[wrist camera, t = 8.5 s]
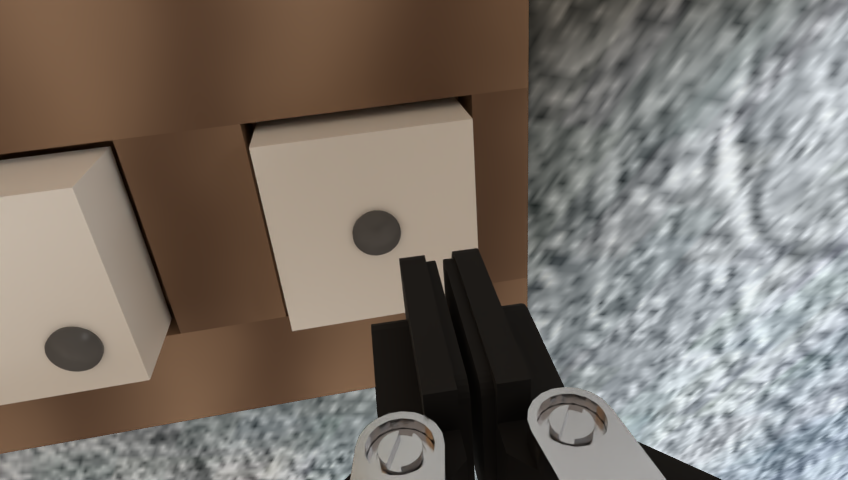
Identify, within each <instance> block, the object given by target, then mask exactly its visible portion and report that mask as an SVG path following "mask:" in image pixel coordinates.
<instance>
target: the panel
mask: <svg viewBox="0 0 848 480" xmlns="http://www.w3.org/2000/svg"><path fill="white" fill-rule="evenodd" d="M528 60H529V0H0V160H6V159H14V158H21V157H29V156H37V155H45V154H53V153H61V152H68V151H76V150H84V149H92V148H100V147H108V146H111V149H112V152H113V155H114V158H115V160H116V163H117V166H118V169H119V172H120V174H121V177H122V180H123V183H124V186H125V189H126V191H127V194H128V197H129V200H130V203H131V205H132V208H133V211H134V214H135V217H136V219H137V222H138V225H139V228H140V231H141V233H142V236H143V239H144V242H145V245H146V248H147V250H148V253H149V256H150V259H151V262H152V264H153V267H154V270H155V273H156V276H157V278H158V281H159V284H160V287H161V290H162V292H163V295H164V298H165V301H166V304H167V307H168V309H169V312H170V315H171V318H172V320H171V323H170V326H169V328H168V331H167V334H166V337H165V339H164V342H163V345H162V348H161V351H160V353H159V356H158V359H157V362H156V365H155V367H154V370H153V373H152V376H151V378H150V380H147V381H141V382H135V383H129V384H123V385H118V386H112V387H106V388H100V389H94V390H88V391H82V392H76V393H70V394H64V395H59V396H53V397H47V398H41V399H35V400H29V401H23V402H17V403H11V404H5V405H0V454H2V453H7V452H13V451H18V450H24V449H30V448H35V447H41V446H47V445H52V444H58V443H63V442H69V441H75V440H80V439H86V438H92V437H97V436H103V435H109V434H114V433H120V432H125V431H131V430H137V429H142V428H148V427H154V426H159V425H165V424H170V423H176V422H182V421H187V420H193V419H199V418H204V417H210V416H215V415H221V414H227V413H232V412H238V411H244V410H249V409H255V408H260V407H266V406H272V405H277V404H283V403H289V402H294V401H300V400H305V399H311V398H317V397H322V396H328V395H334V394H339V393H345V392H351V391H356V390H362V389H367V388H373V387H375V375H374V361H373V348H372V335H371V324H376V323H383V322H390V321H398V320H405V319H406V315H405V313H400V314H394V315H388V316H382V317H376V318H370V319H364V320H358V321H352V322H346V323H340V324H333V325H327V326H321V327H315V328H309V329H303V330H297V331H292V328H291V324H290V319H289V315H288V311H287V307H286V302H285V298H284V294H283V290H282V286H281V281H280V277H279V273H278V269H277V264H276V260H275V256H274V252H273V247H272V243H271V239H270V235H269V231H268V226H267V222H266V218H265V214H264V209H263V205H262V201H261V197H260V193H259V188H258V184H257V180H256V176H255V171H254V167H253V163H252V159H251V155H250V150H249V146H250V143H251V139H252V136H253V133H254V129H255V126H256V122H260V121H268V120H276V119H284V118H292V117H300V116H308V115H316V114H324V113H332V112H339V111H347V110H355V109H363V108H371V107H379V106H387V105H395V104H403V103H411V102H418V101H426V100H434V99H442V98H450V97H455V98H456V99H457V101H458V102H459V103H460V104H461V105H462V107H463V108H464V109H465V110H466V111H467V113H468V114H469V115H470V116H471V118H472V119H473V140H474V164H475V187H476V211H477V235H478V250H479V252H480V254H481V257H482V259H483V262H484V264H485V266H486V269H487V271H488V274H489V276H490V279H491V281H492V284H493V286H494V289H495V291H496V294H497V296H498V299H499V301H500V303H501V306H505V305H512V304H519V303H524V304H525V305H526V307H527V262H528Z"/></svg>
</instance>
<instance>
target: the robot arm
mask: <svg viewBox="0 0 848 480" xmlns="http://www.w3.org/2000/svg"><path fill="white" fill-rule="evenodd" d="M451 257H452V258H450V259H443V273H444V287H445V294H444V290H443V286H442V283H441V279H440V275H439V272H438V268H437V264H436V261H427V262H426V259H425V255H421V256H413V257H406V258H399V264H400V272H401V281H402V290H403V298H404V307H405V315H406V319H405V320H398V321H390V322H383V323H376V324H371V335H372V348H373V361H374V375H375V388H376V401H377V415H378V418H377V419H376V420H374V421H373V422H372V423H370V424H369V425H367V426H366V428H365V429H364V430H363V431H362V433H361V434H360V435H359V438H358V441H357V443H356V446H355V452H354V458H353V465H352V471H351V474H350V475H349V476H348V477H347V478H346V479H345V480H475V474H474V466H475V470H476V474H477V478H478V480H721V479H719V478H717V477H715V476H713V475H710V474H708V473H706V472H704V471H701V470H699V469H697V468H695V467H693V466H690V465H688V464H686V463H684V462H682V461H679V460H677V459H675V458H673V457H671V456H668V455H666V454H664V453H662V452H659V451H657V450H655V449H653V448H651V447H648V446H646V445H644V444H642V443H640V442H637V440H636V439H635V438H634V437H633V435H632V434H631V433H630V431H629V430H628V429H627V427H626V426H625V425H624V423H623V422H622V421H621V420H620V418H619V417H618V416H617V414H616V413H615V412H614V410H613V409H612V408H611V407H610V406H609V405H608V404H607V403H606V402H605V401H604V400H603V399H602V398H600V397H598V396H597V395H595V394H593V393H592V392H589V391H586V390H582V389H579V388H570V387H564V385H563V383H562V381H561V379H560V377H559V375H558V372H557V370H556V368H555V366H554V364H553V362H552V360H551V357H550V355H549V353H548V351H547V349H546V347H545V345H544V343H543V340H542V338H541V336H540V334H539V332H538V330H537V328H536V325H535V323H534V321H533V319H532V317H531V315H530V313H529V310H528V308H527V307H526V305H525V304H524V303H519V304H512V305H505V306H501V303H500V301H499V299H498V296H497V294H496V291H495V289H494V286H493V284H492V281H491V279H490V276H489V274H488V271H487V269H486V266H485V264H484V262H483V259H482V257H481V254H480V252H479V250H478V248H474V249H466V250H458V251H452V256H451Z"/></svg>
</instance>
